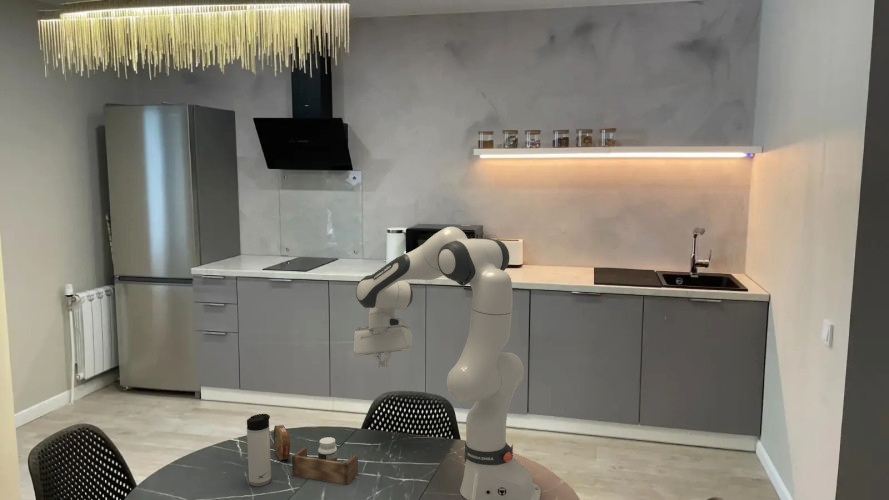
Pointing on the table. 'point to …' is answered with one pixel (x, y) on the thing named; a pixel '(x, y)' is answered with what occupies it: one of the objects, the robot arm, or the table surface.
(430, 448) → the table surface
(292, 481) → the table surface
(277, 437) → the tin
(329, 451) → the pill bottle
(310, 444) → the table surface
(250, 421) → the travel mug
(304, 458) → the box
